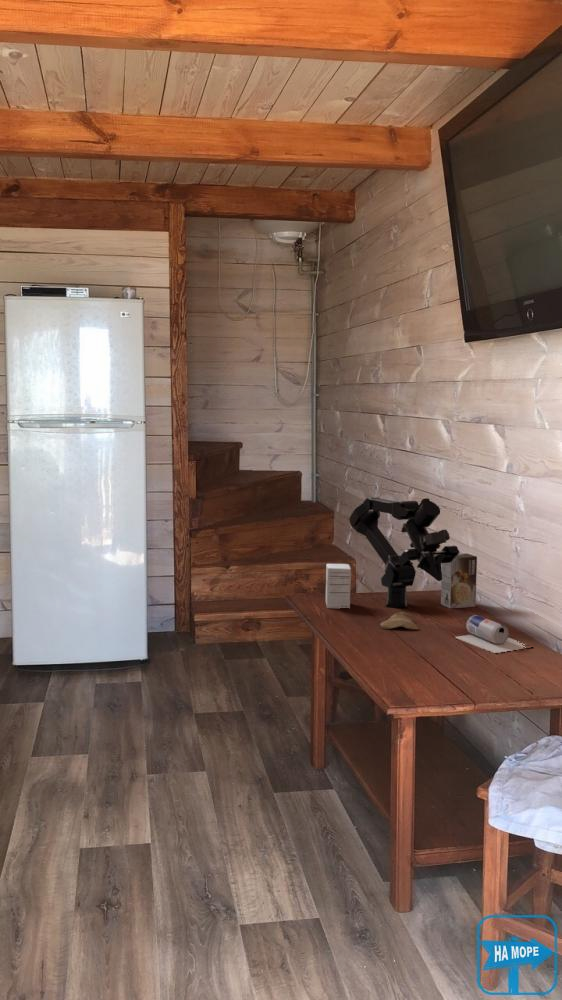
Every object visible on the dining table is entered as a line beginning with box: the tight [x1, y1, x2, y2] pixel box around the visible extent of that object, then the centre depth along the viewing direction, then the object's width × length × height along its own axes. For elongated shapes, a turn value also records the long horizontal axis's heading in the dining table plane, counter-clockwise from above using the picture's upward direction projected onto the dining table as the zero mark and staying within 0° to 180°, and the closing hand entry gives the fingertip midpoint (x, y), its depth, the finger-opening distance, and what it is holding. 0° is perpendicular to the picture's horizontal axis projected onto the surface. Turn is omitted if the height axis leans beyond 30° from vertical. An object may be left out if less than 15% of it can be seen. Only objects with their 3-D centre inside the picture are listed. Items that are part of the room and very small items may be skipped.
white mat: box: [455, 634, 526, 654], centre depth 232 cm, size 16×13×1 cm
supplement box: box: [325, 563, 352, 609], centre depth 269 cm, size 7×7×13 cm
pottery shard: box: [379, 611, 420, 631], centre depth 248 cm, size 11×4×10 cm
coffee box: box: [440, 553, 478, 609], centre depth 272 cm, size 9×6×16 cm
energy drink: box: [465, 614, 510, 644], centre depth 235 cm, size 5×5×12 cm
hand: (440, 580), depth 252 cm, fingers closed
